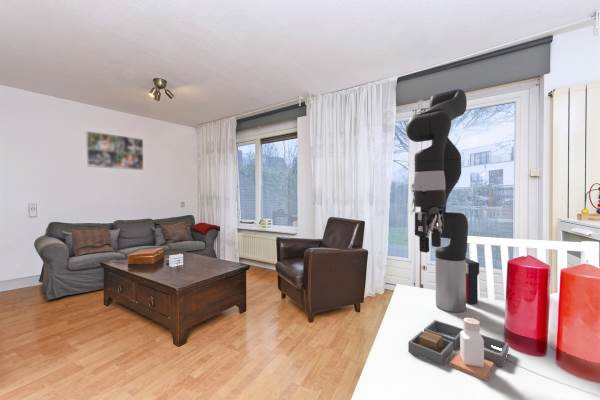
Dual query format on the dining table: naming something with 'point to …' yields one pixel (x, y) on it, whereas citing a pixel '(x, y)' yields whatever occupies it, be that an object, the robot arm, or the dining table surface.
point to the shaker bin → (494, 357)
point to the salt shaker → (472, 343)
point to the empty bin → (447, 329)
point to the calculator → (472, 281)
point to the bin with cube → (430, 354)
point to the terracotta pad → (472, 367)
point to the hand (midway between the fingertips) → (430, 249)
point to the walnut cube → (431, 341)
